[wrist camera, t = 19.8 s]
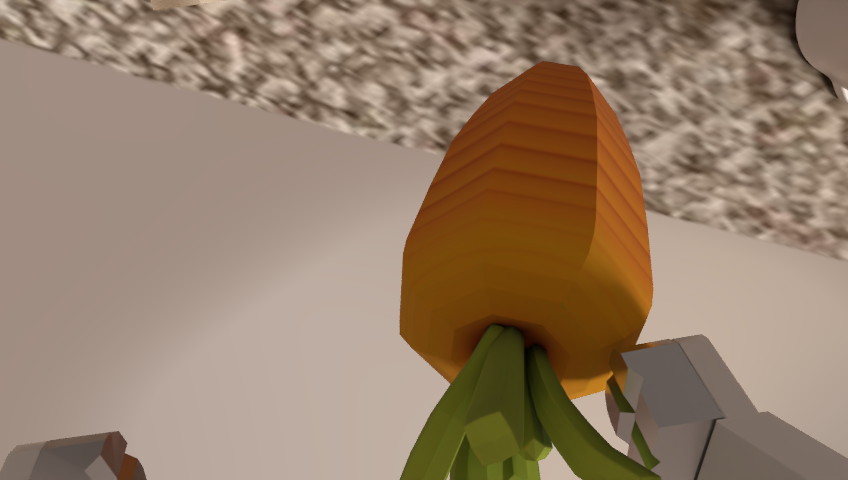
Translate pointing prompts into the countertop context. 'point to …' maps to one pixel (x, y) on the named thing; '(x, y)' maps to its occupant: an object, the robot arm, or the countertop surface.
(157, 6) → the wooden frame
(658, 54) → the countertop surface
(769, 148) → the countertop surface
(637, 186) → the carrot
